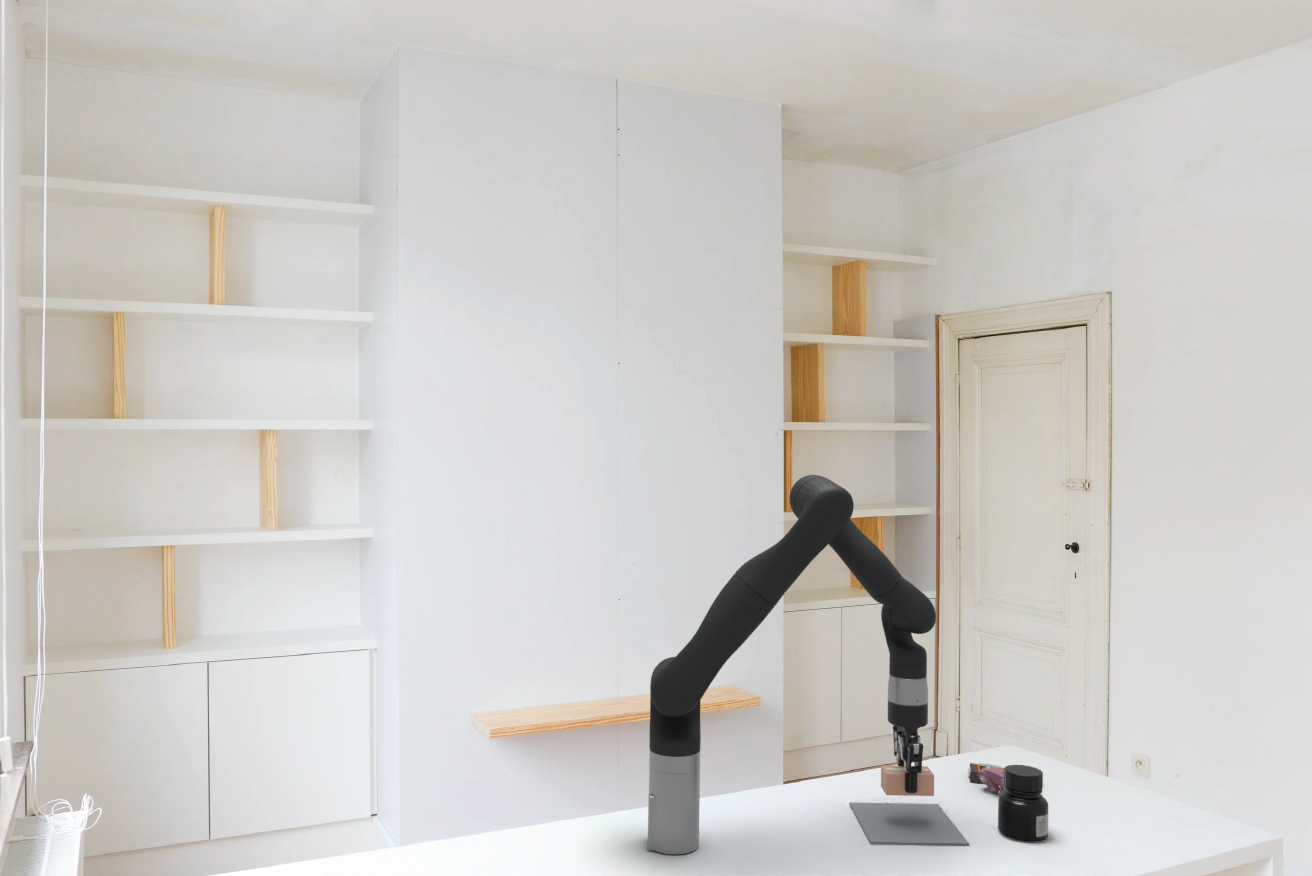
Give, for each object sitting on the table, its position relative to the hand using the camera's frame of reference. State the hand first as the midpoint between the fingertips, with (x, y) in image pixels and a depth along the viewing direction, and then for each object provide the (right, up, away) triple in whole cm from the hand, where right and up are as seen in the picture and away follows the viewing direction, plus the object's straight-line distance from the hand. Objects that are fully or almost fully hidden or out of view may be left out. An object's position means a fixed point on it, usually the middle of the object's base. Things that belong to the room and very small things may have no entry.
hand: (907, 786), depth 187 cm
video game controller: (+24, -8, +17) cm, 31 cm away
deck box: (0, -1, 0) cm, 1 cm away
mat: (0, -7, 0) cm, 7 cm away
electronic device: (+28, -9, +26) cm, 39 cm away
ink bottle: (+21, -8, -4) cm, 23 cm away
